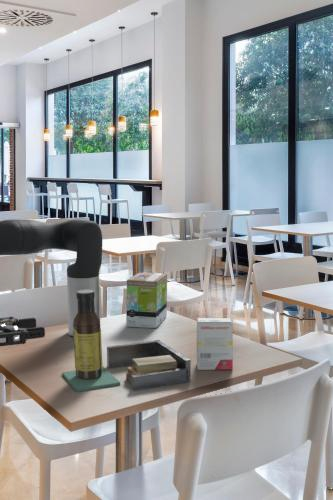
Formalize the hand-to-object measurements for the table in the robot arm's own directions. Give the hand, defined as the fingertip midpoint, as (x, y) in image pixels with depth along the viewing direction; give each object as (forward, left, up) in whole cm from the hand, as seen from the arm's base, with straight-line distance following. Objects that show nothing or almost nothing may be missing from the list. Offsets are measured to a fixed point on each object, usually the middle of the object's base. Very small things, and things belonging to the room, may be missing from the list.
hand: (40, 327), depth 131 cm
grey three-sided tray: (+3, +24, -13) cm, 28 cm away
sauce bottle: (0, +11, -13) cm, 17 cm away
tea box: (-42, +43, -14) cm, 62 cm away
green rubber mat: (+1, +11, -13) cm, 17 cm away
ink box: (+5, +41, -14) cm, 43 cm away
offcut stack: (+7, +24, -13) cm, 28 cm away
